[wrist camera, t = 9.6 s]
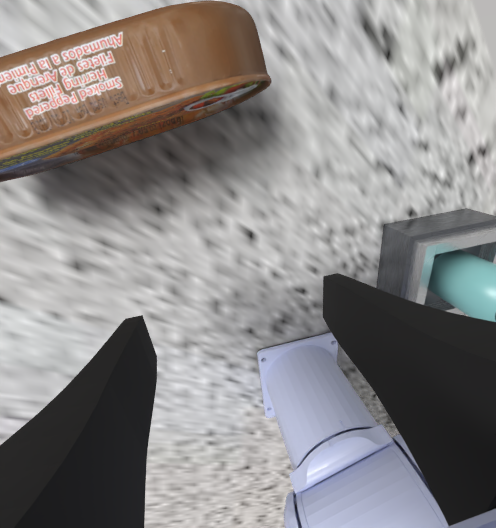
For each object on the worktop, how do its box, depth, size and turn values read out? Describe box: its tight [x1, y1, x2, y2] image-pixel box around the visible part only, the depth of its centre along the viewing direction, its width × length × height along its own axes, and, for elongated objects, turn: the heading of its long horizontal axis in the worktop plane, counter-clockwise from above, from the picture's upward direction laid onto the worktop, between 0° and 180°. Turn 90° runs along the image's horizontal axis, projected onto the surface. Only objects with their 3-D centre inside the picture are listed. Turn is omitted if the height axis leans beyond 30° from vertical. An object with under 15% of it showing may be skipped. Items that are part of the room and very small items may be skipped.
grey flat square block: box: [377, 209, 496, 314], centre depth 24 cm, size 8×8×4 cm
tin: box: [0, 1, 271, 182], centre depth 12 cm, size 15×3×8 cm, turn 107°
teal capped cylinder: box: [428, 249, 496, 322], centre depth 20 cm, size 4×4×6 cm
